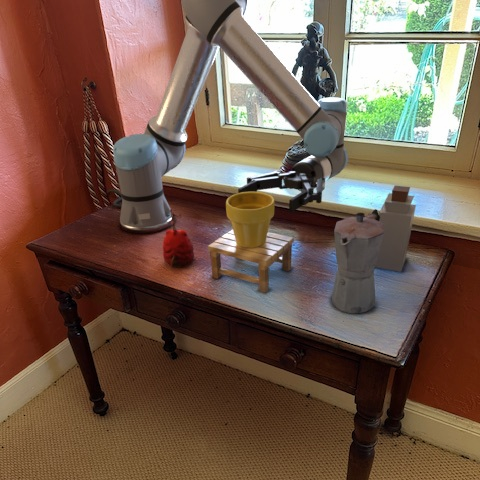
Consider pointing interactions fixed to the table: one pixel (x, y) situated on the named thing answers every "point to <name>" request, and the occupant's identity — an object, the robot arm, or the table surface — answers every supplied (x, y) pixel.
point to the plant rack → (252, 256)
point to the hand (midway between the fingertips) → (264, 200)
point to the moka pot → (357, 261)
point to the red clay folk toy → (177, 246)
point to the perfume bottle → (395, 228)
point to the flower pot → (250, 217)
